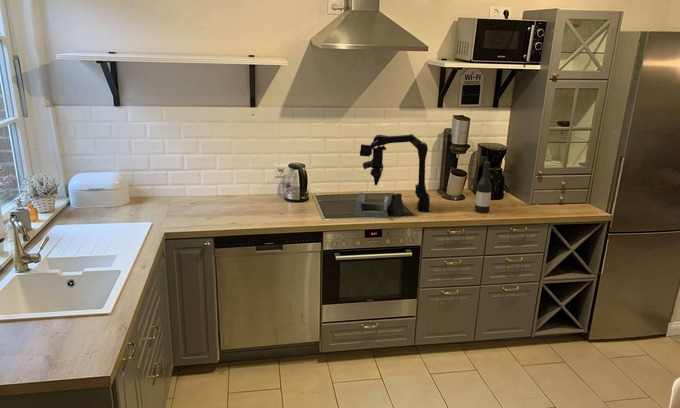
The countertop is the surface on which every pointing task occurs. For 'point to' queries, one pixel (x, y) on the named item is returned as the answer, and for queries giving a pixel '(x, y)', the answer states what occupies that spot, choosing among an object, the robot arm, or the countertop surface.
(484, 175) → the wine bottle
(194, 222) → the countertop surface
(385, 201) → the paddle
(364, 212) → the gauge frame
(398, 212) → the phone stand
